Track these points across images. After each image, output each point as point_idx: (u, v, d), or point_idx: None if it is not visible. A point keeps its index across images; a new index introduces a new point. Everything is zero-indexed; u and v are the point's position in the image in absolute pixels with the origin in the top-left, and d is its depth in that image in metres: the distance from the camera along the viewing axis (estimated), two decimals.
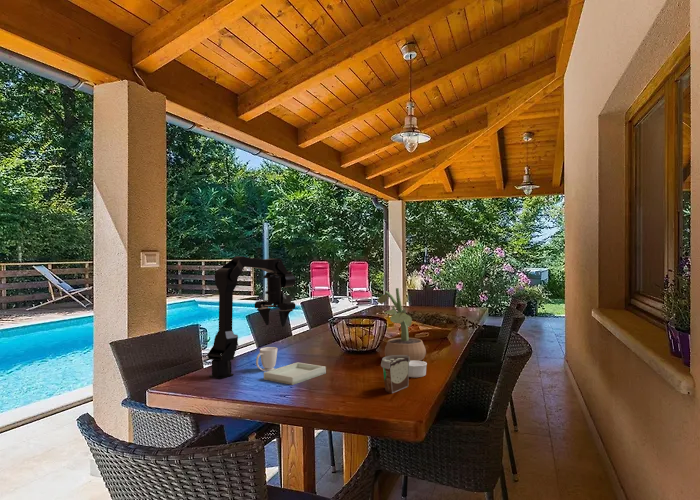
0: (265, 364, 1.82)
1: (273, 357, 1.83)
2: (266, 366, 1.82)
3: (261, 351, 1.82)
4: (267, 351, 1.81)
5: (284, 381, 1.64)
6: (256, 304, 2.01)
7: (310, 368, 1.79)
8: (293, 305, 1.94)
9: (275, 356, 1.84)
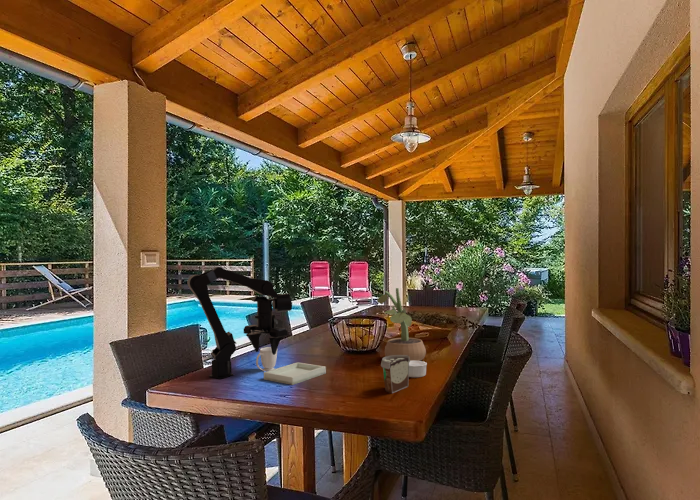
0: (265, 364, 1.82)
1: (273, 357, 1.83)
2: (266, 366, 1.82)
3: (261, 351, 1.82)
4: (267, 351, 1.81)
5: (284, 381, 1.64)
6: (245, 329, 1.85)
7: (310, 368, 1.79)
8: (285, 331, 1.79)
9: (275, 356, 1.84)
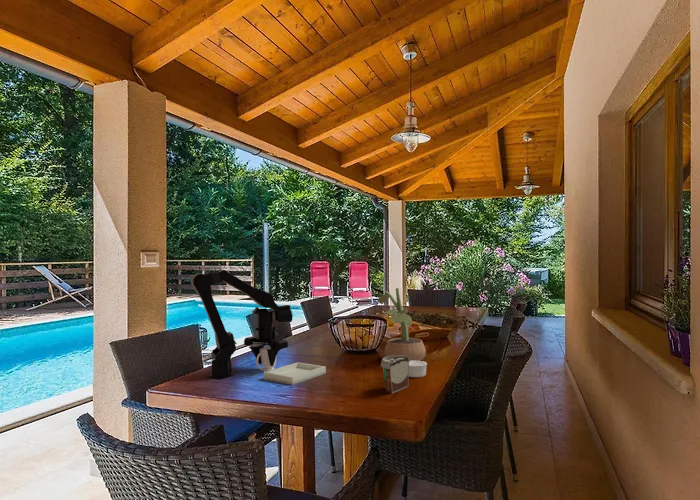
0: (265, 364, 1.82)
1: None
2: (266, 366, 1.82)
3: (261, 351, 1.82)
4: None
5: (284, 381, 1.64)
6: (245, 341, 1.85)
7: (310, 368, 1.79)
8: (285, 343, 1.79)
9: None
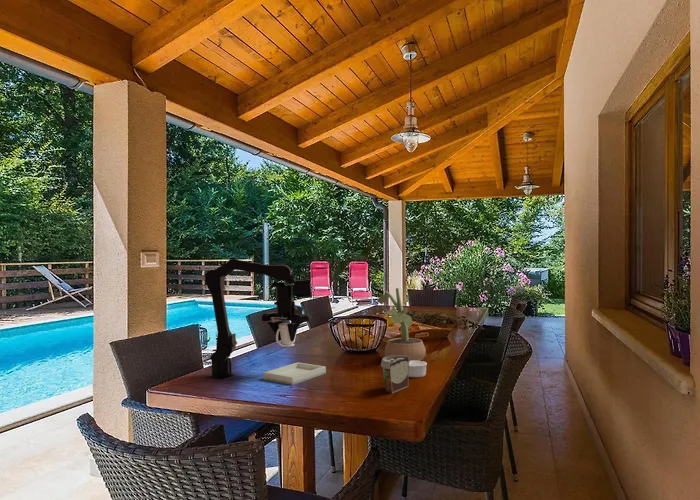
0: (285, 339, 1.76)
1: None
2: (286, 342, 1.76)
3: (280, 326, 1.76)
4: (287, 326, 1.75)
5: (284, 381, 1.64)
6: (263, 317, 1.79)
7: (310, 368, 1.79)
8: (306, 317, 1.73)
9: None
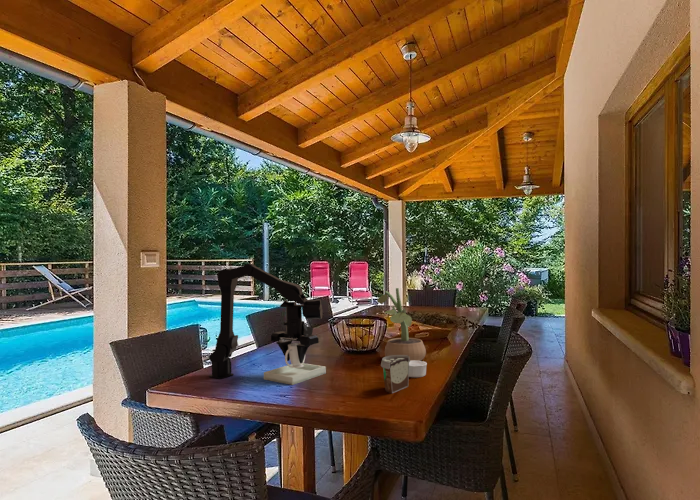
0: (294, 361, 1.72)
1: None
2: (295, 363, 1.72)
3: (290, 347, 1.72)
4: (296, 347, 1.71)
5: (284, 381, 1.64)
6: (272, 337, 1.75)
7: (310, 368, 1.79)
8: (316, 339, 1.69)
9: None
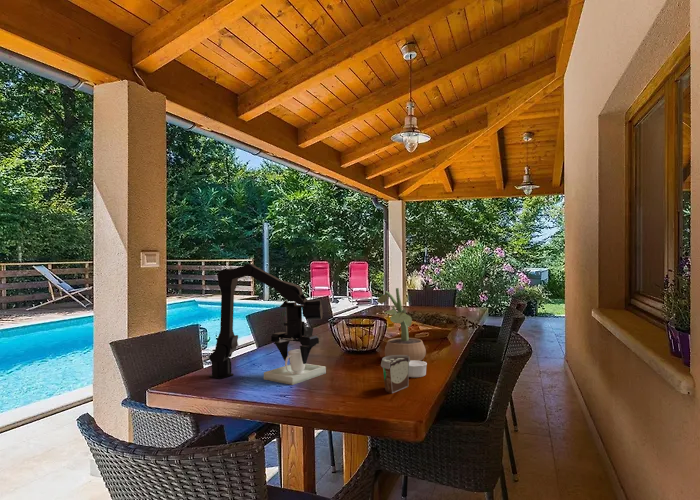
0: (294, 367, 1.72)
1: None
2: (295, 369, 1.72)
3: (290, 353, 1.73)
4: (296, 353, 1.72)
5: (284, 381, 1.64)
6: (272, 337, 1.75)
7: (310, 368, 1.79)
8: (316, 339, 1.69)
9: None
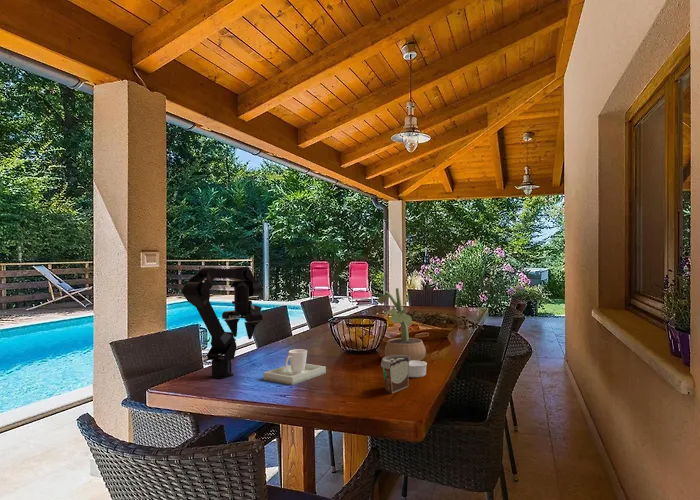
0: (294, 367, 1.72)
1: (303, 360, 1.73)
2: (295, 369, 1.72)
3: (290, 353, 1.72)
4: (296, 354, 1.71)
5: (284, 381, 1.64)
6: (223, 315, 1.90)
7: (310, 368, 1.79)
8: (260, 316, 1.82)
9: (305, 359, 1.74)
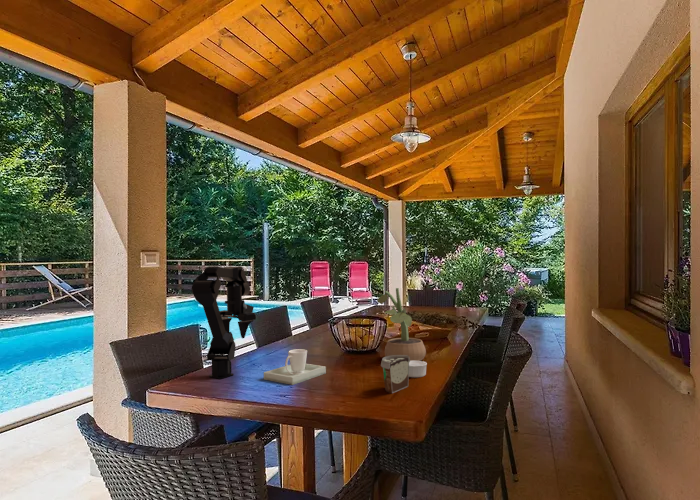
0: (294, 367, 1.72)
1: (303, 360, 1.73)
2: (295, 369, 1.72)
3: (290, 353, 1.72)
4: (296, 354, 1.71)
5: (284, 381, 1.64)
6: None
7: (310, 368, 1.79)
8: (253, 316, 1.85)
9: (305, 359, 1.74)
